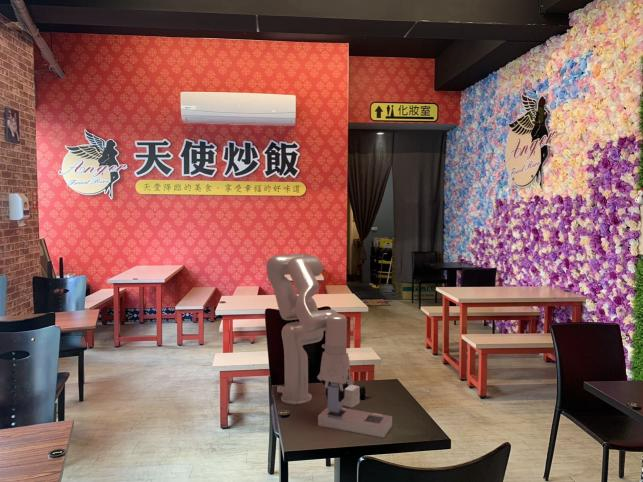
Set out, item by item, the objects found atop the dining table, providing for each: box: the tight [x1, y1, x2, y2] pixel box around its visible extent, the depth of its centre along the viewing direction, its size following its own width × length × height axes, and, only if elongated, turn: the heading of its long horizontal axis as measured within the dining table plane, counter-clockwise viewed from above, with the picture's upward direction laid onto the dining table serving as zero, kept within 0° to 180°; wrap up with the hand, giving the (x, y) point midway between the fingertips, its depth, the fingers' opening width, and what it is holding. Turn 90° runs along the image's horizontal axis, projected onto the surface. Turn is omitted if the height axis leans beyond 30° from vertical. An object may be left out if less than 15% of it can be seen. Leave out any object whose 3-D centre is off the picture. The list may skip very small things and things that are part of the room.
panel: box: [317, 406, 393, 439], centre depth 165 cm, size 24×10×4 cm, turn 65°
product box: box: [342, 384, 361, 409], centre depth 185 cm, size 6×6×7 cm
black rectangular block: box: [355, 384, 373, 401], centre depth 195 cm, size 12×7×5 cm, turn 40°
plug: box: [327, 382, 343, 413], centre depth 168 cm, size 4×4×10 cm
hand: (335, 398), depth 168 cm, fingers closed on plug, 3 cm apart
